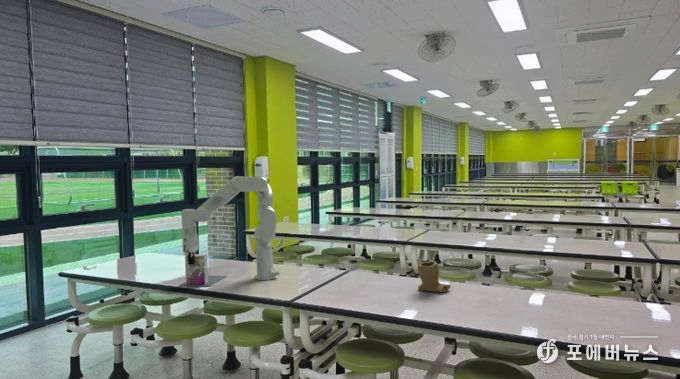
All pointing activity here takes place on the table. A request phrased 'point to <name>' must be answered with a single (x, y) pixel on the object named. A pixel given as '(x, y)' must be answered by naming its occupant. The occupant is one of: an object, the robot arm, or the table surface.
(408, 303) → the table surface
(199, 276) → the candy bar box
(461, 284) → the table surface
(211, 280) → the charcoal mat
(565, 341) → the table surface
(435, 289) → the tan boot
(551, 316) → the table surface
